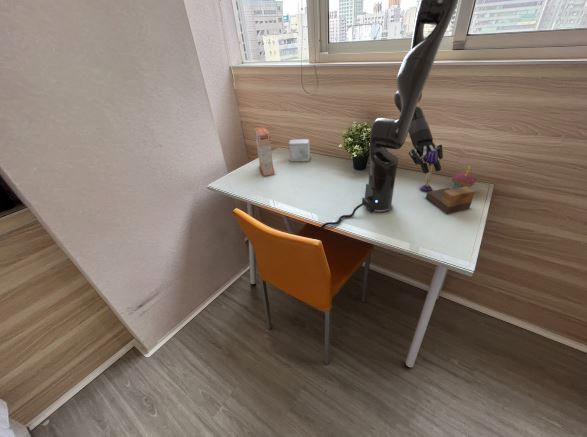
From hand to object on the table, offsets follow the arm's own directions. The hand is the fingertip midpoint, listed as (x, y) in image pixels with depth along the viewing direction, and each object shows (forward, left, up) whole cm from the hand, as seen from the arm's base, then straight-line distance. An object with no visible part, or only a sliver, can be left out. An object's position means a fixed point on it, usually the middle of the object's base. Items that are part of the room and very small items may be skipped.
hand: (432, 171), depth 107 cm
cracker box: (-60, +49, -9) cm, 78 cm away
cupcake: (+13, -3, -9) cm, 16 cm away
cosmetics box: (-40, +56, -9) cm, 69 cm away
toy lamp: (0, +2, -9) cm, 9 cm away
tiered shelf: (+1, -10, -9) cm, 14 cm away
